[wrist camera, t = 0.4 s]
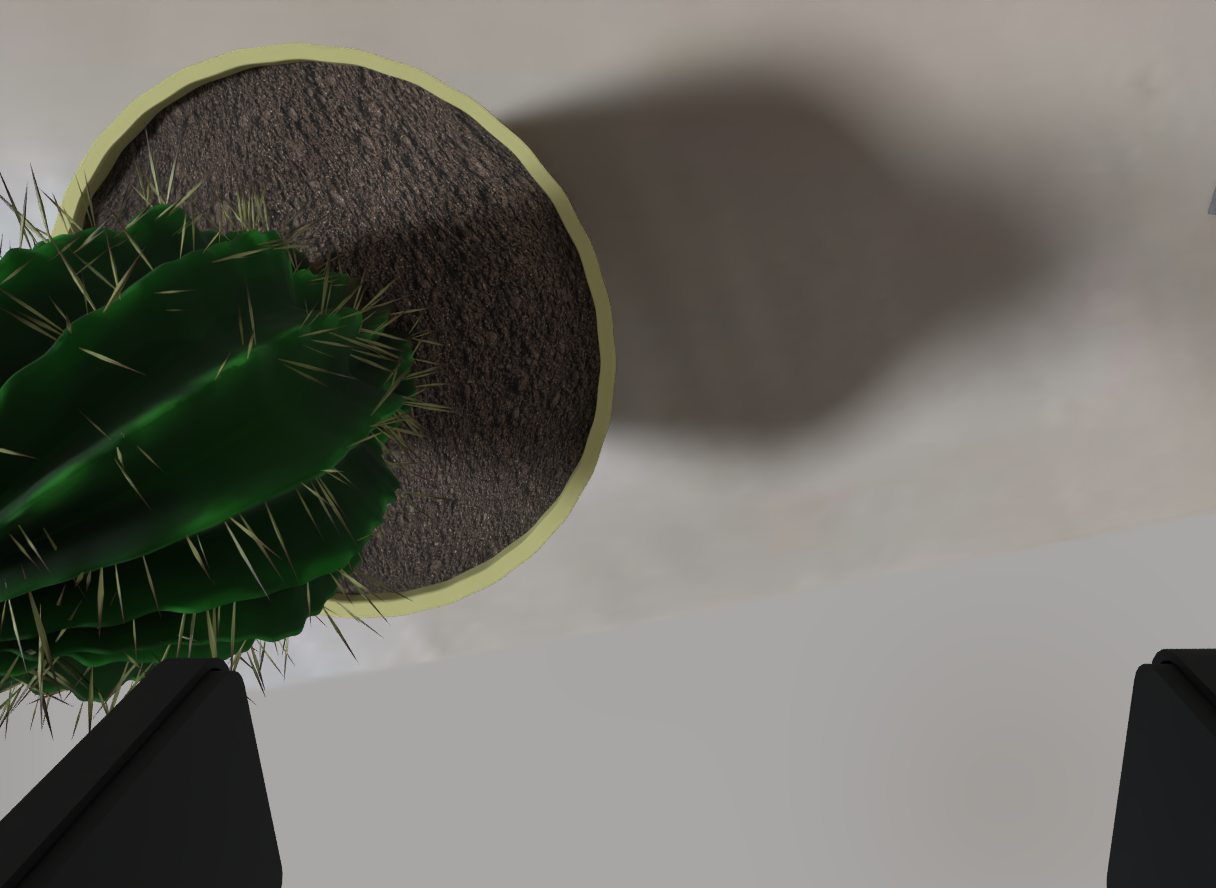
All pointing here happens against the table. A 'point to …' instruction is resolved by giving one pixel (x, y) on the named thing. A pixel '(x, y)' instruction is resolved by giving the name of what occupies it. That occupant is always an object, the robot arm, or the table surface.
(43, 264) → the potted cactus
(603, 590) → the table surface
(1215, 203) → the two-slot holder block
